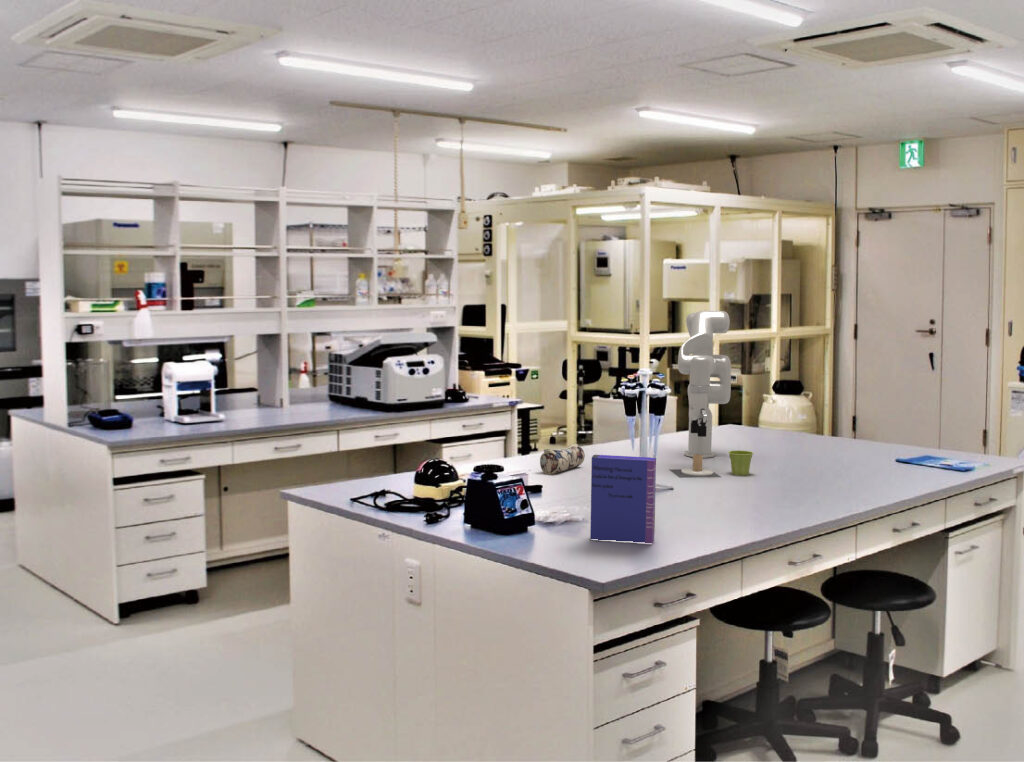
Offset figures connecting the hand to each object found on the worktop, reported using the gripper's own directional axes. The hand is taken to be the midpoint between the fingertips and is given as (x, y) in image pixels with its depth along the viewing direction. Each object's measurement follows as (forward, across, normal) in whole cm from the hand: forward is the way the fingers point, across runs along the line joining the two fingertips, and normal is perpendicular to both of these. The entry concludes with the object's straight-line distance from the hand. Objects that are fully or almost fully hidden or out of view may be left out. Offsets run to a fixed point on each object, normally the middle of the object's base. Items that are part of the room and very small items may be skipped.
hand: (698, 434), depth 387 cm
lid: (+15, -1, 0) cm, 15 cm away
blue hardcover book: (+17, +95, -48) cm, 108 cm away
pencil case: (+16, -12, -50) cm, 53 cm away
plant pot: (+15, +1, +16) cm, 22 cm away
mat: (+15, -1, -1) cm, 15 cm away
